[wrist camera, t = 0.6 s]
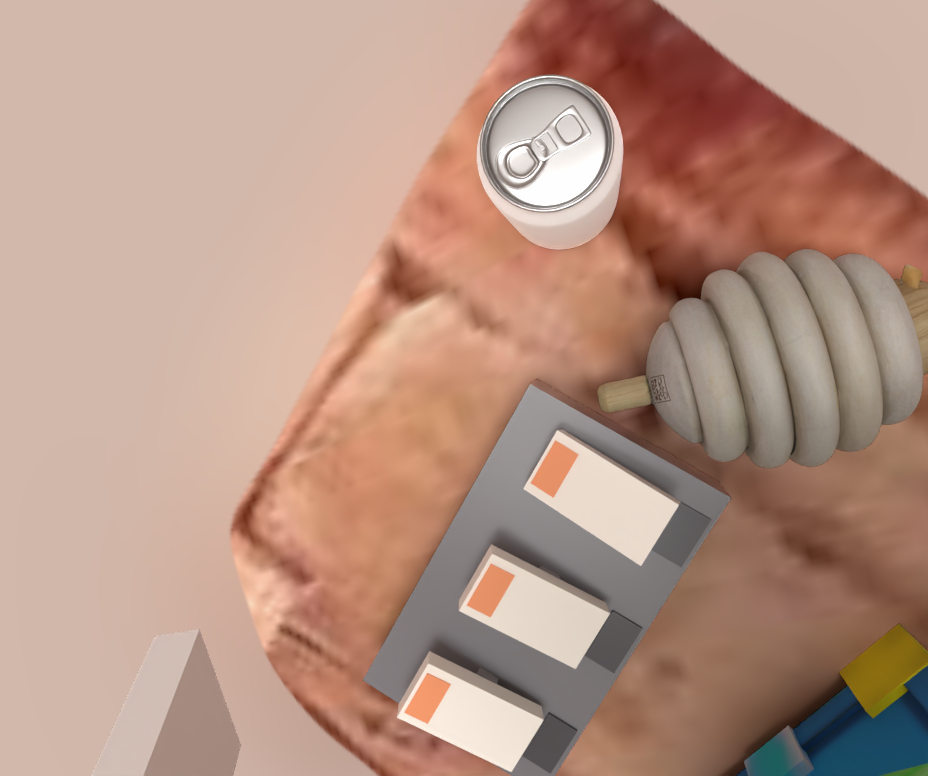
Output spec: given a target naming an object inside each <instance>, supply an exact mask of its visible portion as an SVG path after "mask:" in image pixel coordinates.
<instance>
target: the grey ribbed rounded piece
mask: <svg viewBox="0 0 928 776" xmlns="http://www.w3.org/2000/svg"><path fill="white" fill-rule="evenodd" d="M921 278H922V271H921V270H919V269H918V268H916V267H913V266H911V265H905V267H904V270H903V275H902V277H901V279H892V277H891V276H890V275H889V274H888V272H887V271H886V270H885V269H884V268H883V267H882V266H881V265H880V264H879V263H878V262H876V261H875V260H873V259H871V258H869V257H867V256H864V255H861V254H846V255H842V256H839V257H837V258H836V259H834V260H833V261H832V260H831V259H830V258H829V257H828V256H826V255H825V254H823V253H821V252H819V251H816V250H812V249H802V250H799V251H796V252H794V253H792V254H790V255H789V256H788V257H787V258H786V259H785V260H784V261H782V260H781V259H780V258H778V257H777V256H775V255H773V254H770V253H766V252H757V253H753V254H751V255H749V256H748V257H747V258H745V259H744V260H743V261H742V262H741V264H740V265H739V267H738V269H737V271H736V272H734V271H731V270H725V269H723V270H719V271H715V272H713V273H711V274H710V275H709V276H708V277H707V278H706V279H705V281H704V283H703V286H702V292H701V300H700V299H697V298H686V299H683V300H681V301H679V302H677V303H676V304H675V305H674V306H673V308H672V309H671V311H670V313H669V320H668V321H666V322H663V323H662V324H661V325H660V326H659V328H658V329H657V331H656V333H655V335H654V337H653V339H652V342H651V344H650V348H649V351H648V356H647V363H646V374H645V375H643V376H638V377H633V378H629V379H623V380H619V381H614V382H609V383H605V384H602V385H601V386H600V387H599V388H598V390H597V394H598V399H599V404H600V408H601V409H602V410H603V411H605V412H616V411H621V410H626V409H630V408H636V407H641V406H646V405H649V404H653V405H654V406H655V408H656V409H657V411H658V413H659V414H660V416H661V417H662V418H663V420H664V421H665V422H666V423H667V424H668V425H669V426H670V427H671V428H672V429H673V430H674V431H675V432H676V433H677V434H679V435H680V436H681V437H683V438H684V439H686V440H688V441H689V442H691V443H694V444H696V443H699V442H701V444H702V446H703V448H704V450H705V452H706V453H707V455H708V456H709V457H711V458H712V459H715V460H717V461H722V462H727V461H732V460H734V459H736V458H738V457H739V456H740V455H741V454H742V453H743V452H744V451H745V453H746V454H747V456H748V457H749V458H750V459H751V461H752V462H753V463H755V464H756V465H757V466H759V467H763V468H776V467H779V466H781V465H783V464H784V463H785V462H786V461H787V460H788V459H789V458H790V459H791V460H793V461H794V462H796V463H797V464H800V465H802V466H807V467H815V466H819V465H821V464H824V463H825V462H826V461H828V460H829V459H830V457H831V456H832V455H833V453H834V451H835V449H838V450H841V451H845V452H855V451H860V450H863V449H865V448H866V447H868V446H869V445H870V444H871V443H872V442H873V441H874V439H875V438H876V436H877V435H878V433H879V430H880V427H881V424H883V425H889V424H895V423H899V422H901V421H903V420H905V419H906V418H908V417H909V416H910V415H911V414H912V413H913V411H914V410H915V409H916V407H917V405H918V403H919V401H920V397H921V393H922V388H923V376H924V375H925V374H927V373H928V283H926V282H922V281H920V280H921Z"/></svg>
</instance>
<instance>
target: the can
mask: <svg viewBox="0 0 928 776" xmlns="http://www.w3.org/2000/svg"><path fill="white" fill-rule="evenodd" d="M622 163H623V139H622V134H621V129H620V126H619V123H618V121H617V118H616V116H615V114H614V112H613V111H612V109H611V107H610V106H609V105H608V103H607V102H606V101H605V100H604V99H603V98H602V97H601V96H600V95H599V94H598V93H597V92H596V91H594V90H593V89H591V88H590V87H588V86H586V85H585V84H583V83H581V82H579V81H577V80H575V79H572V78H569V77H566V76H561V75H540V76H535V77H532V78H529V79H526V80H523V81H521V82H519V83H517V84H516V85H514V86H512V87H511V88H510V89H508V90H507V91H506V92H505V93H504V94H502V95H501V96H500V98H499V99H498V100H497V101H496V102H495V104H494V105H493V106H492V108H491V109H490V111H489V113H488V115H487V117H486V119H485V122H484V124H483V126H482V129H481V132H480V135H479V140H478V145H477V166H478V172H479V176H480V179H481V182H482V185H483V187H484V189H485V191H486V193H487V195H488V196H489V198H490V199H491V201H492V202H493V203H494V205H495V206H496V207H497V208H498V210H499V211H500V212H501V213H502V214H503V215H504V216H505V218H506V219H507V220H508V221H509V222H510V223H511V224H512V225H513V226H514V227H515V228H516V230H517V231H518V232H519V233H520V234H522V235H523V236H524V237H525V238H526V239H527V240H529V241H530V242H532V243H534V244H536V245H538V246H540V247H544V248H548V249H554V250H563V249H570V248H574V247H578V246H580V245H583V244H585V243H587V242H588V241H590V240H591V239H593V238H594V237H596V236H597V235H598V234H599V233H600V232H601V231H602V230H603V229H604V227H605V226H606V225H607V223H608V222H609V220H610V219H611V217H612V215H613V212H614V210H615V207H616V203H617V199H618V193H619V186H620V179H621V172H622Z"/></svg>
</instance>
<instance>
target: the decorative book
mask: <svg viewBox="0 0 928 776" xmlns="http://www.w3.org/2000/svg"><path fill="white" fill-rule="evenodd" d="M839 673H840V675H841V676H842V678H843V679H844V680H845V682H846V683H847V686H846V687H845V688H844V689H842V690H841V691H840V692H839V693H837V694H836V695H835V696H834V697H832V698H831V699H830V700H829V701H828V702H826V703H825V704H824V705H823V706H821V707H820V708H819V709H818V710H816V711H815V712H814V713H813V714H811V715H810V716H809V717H808V718H806V719H805V720H804V721H803V722H802V723H800V724H799V725H798V726H797V727H795V728H794V729H793V728H791V727H790V726H789V725H788V726H787V727H786V728H784V729H783V730H782V731H781V732H779V733H778V734H777V735H776V736H775V737H773V738H772V739H771V740H770V741H768V742H767V743H766V744H765V745H763V746H762V747H761V748H760V749H758V750H757V751H756V752H755V753H754V754H752V755H751V756H750V757H749V758H747V759H746V760H745V761H744V763H745V766H746V768H745V769H743V770H742V771H741V772H740V773H738V774H737V775H736V776H928V651H927V650H926V649H925V648H924V647H923V646H922V645H921V644H920V643H919V642H918V641H917V640H916V639H914V638H913V637H912V636H911V635H910V634H909V633H908V632H907V631H906V630H905V629H904V628H903V627H902V626H901V625H900V624H898V625H896V626H895V627H894V628H893V629H891V630H890V631H889V632H888V633H886V634H885V635H884V636H883V637H882V638H880V639H879V640H878V641H877V642H875V643H874V644H873V645H872V646H870V647H869V648H868V649H867V650H866V651H864V652H863V653H862V654H861V655H859V656H858V657H857V658H856V659H855V660H853V661H852V662H851V663H850V664H848V665H847V666H846V667H845V668H843V669H842V670H841V671H840V672H839Z"/></svg>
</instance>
